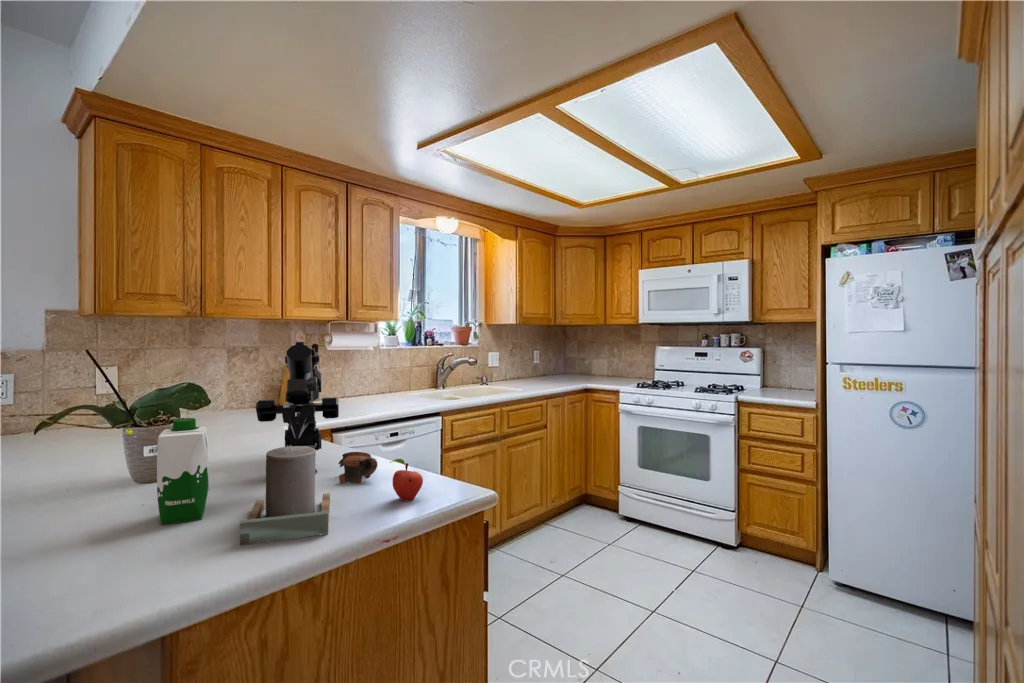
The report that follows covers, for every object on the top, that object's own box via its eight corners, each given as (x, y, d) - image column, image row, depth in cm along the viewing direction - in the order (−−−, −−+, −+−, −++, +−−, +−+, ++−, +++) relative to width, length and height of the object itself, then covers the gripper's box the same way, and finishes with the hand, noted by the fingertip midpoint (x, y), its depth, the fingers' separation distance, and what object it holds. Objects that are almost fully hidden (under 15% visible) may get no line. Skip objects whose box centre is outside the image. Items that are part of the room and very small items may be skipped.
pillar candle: (254, 522, 99) (255, 449, 99) (283, 505, 109) (284, 438, 108) (299, 526, 98) (299, 452, 97) (324, 508, 107) (325, 441, 107)
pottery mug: (327, 485, 125) (331, 453, 129) (352, 491, 133) (355, 461, 137) (365, 478, 121) (368, 445, 125) (389, 485, 129) (391, 454, 133)
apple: (408, 492, 118) (408, 451, 118) (428, 498, 114) (428, 456, 114) (383, 501, 112) (383, 458, 112) (403, 507, 108) (404, 463, 108)
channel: (256, 509, 106) (256, 491, 106) (329, 501, 111) (329, 484, 111) (239, 545, 89) (239, 523, 89) (327, 534, 94) (327, 513, 94)
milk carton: (210, 506, 108) (209, 416, 107) (206, 520, 100) (205, 423, 99) (161, 512, 104) (161, 419, 103) (153, 528, 96) (153, 427, 95)
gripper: (256, 367, 118) (248, 420, 108) (338, 365, 124) (338, 416, 114) (261, 395, 126) (254, 447, 115) (338, 392, 132) (338, 442, 122)
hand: (297, 437), depth 116 cm, fingers closed
